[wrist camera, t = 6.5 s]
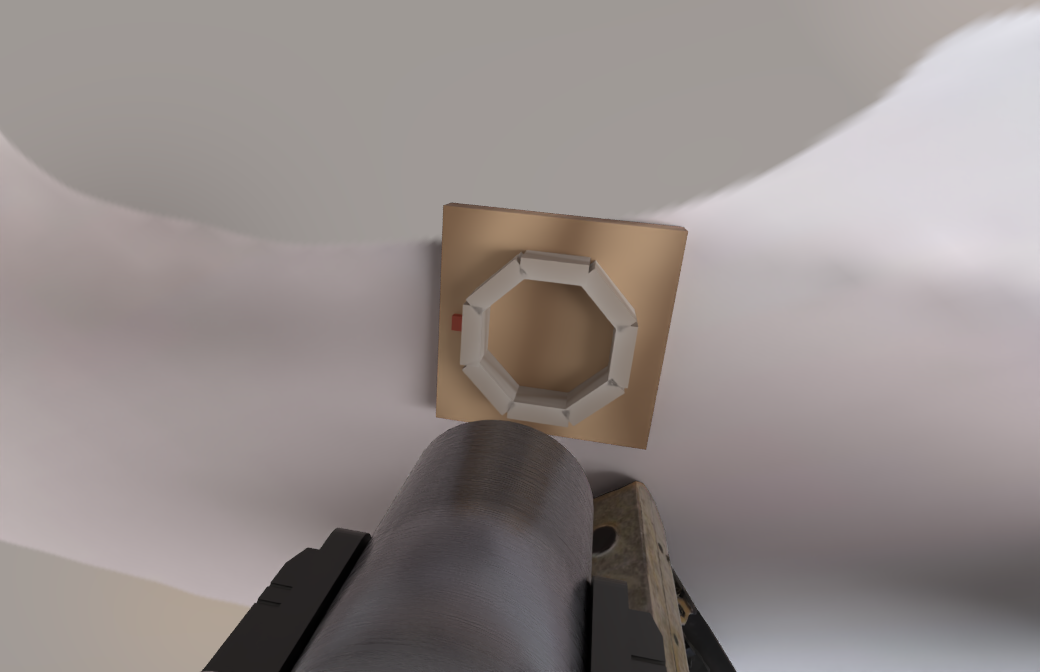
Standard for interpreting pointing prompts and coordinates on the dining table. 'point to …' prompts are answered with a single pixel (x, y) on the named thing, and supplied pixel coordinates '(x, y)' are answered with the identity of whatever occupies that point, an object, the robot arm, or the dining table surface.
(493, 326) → the mount
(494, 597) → the lens
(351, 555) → the robot arm
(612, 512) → the vintage camera
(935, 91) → the dining table surface
